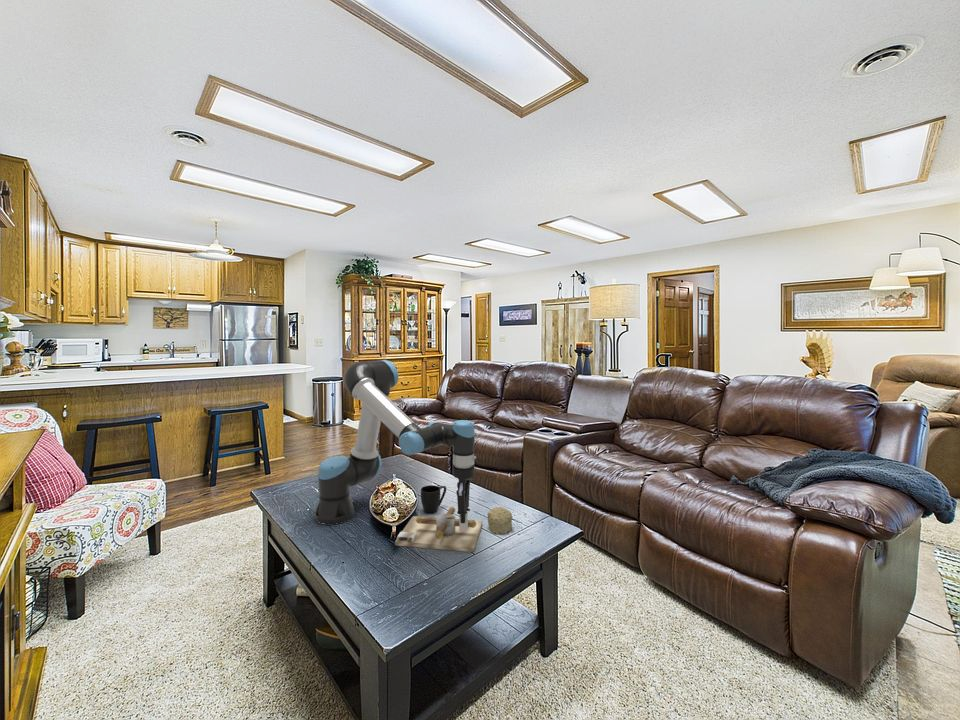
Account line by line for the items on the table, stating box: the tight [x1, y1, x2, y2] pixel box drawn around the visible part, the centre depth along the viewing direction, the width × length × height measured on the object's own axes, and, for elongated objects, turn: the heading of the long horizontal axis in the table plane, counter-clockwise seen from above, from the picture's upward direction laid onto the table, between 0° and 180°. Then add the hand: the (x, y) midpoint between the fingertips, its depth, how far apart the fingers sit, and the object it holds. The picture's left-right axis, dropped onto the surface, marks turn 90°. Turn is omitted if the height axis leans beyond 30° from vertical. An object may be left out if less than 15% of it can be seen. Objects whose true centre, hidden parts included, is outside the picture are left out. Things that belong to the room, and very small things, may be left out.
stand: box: [394, 515, 483, 553], centre depth 152 cm, size 28×20×3 cm
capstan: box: [416, 506, 477, 539], centre depth 151 cm, size 23×23×6 cm
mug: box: [420, 484, 447, 515], centre depth 173 cm, size 8×12×10 cm
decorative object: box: [487, 506, 513, 535], centre depth 157 cm, size 9×10×10 cm
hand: (463, 530), depth 146 cm, fingers closed
